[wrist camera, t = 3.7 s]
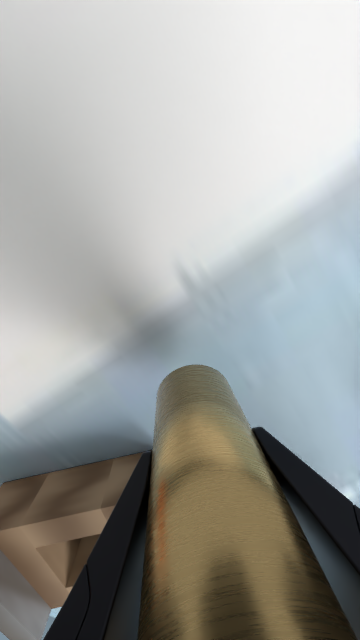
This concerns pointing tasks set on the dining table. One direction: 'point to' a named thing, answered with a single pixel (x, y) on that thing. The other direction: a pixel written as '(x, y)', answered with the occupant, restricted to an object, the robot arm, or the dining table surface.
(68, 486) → the jig
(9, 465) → the dining table surface
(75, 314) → the dining table surface
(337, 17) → the dining table surface
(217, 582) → the brass cylinder rod
